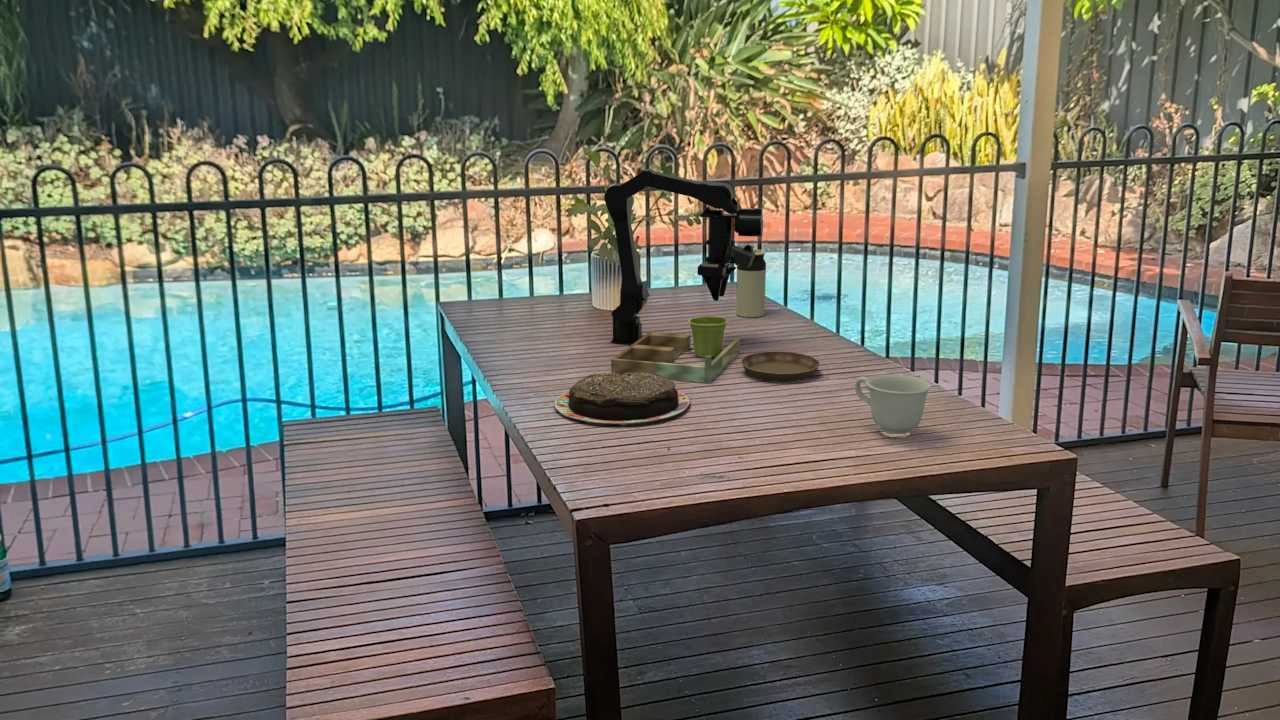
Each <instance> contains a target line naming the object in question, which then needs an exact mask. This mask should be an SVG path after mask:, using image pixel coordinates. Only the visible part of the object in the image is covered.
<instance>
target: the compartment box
mask: <svg viewBox="0 0 1280 720" xmlns="http://www.w3.org/2000/svg"><path fill="white" fill-rule="evenodd" d="M691 341H692V340H691V334H687V333H672V332H660V331H649V332H648V333H646V334H645V335H642V338H641V339H639V340H638V341H636V342H635V343H634V344H630V346H628V347H627V348H625V349H624V350H622V351H621V352H620V353H618V354H617V355H615V356H614V357H612V358H611V360H610V361H611V362H610V364H611V365H610V366H611V367H610V372H611V373H613V372H615V373H616V374H621V373H623V374H624V373H631V372H636V373H641V372H642V373H652V372H654V373H657V374H659V375H660V376H663V377H665V378H666V379H668V380H670V381H678V380H680V381H681V382H689V381H694V382H693V383H700V382H705V383H704V384H711V383H712V381H713V380H714V379H716V377H718V375H719V374H720V373H721V372H722V371H723V370H724V369H725V368H727V366H728V365H729V364H730V363H731V362H732V361H733V360H734V359H735V358H736V357H737V356H738V355H739V354H740V353H741V338H738V337H736V338H735V339H733V341H732V342H730V343H729V344H728V345H727V347H725V348H724V349H722V350H721V353H720V354H719V355H718V356H717V357H715V358H713V357H712V356H708V355H706V356H705V358H704V365H693V364H680V363H675V361H676V360H677V359H678V358H679V357H680V356H681V355H683V354H684V353H685V352H684V351H687V350H688V351H689V350H691V347H692V346H691V343H692V342H691ZM688 351H687V352H688ZM683 352H684V353H683ZM679 355H680V356H679ZM678 356H679V357H678ZM677 357H678V358H677ZM676 358H677V359H676ZM712 358H713V359H712ZM611 373H610V374H611ZM680 381H679V382H680Z"/></svg>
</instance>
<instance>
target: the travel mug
mask: <svg viewBox="0 0 1280 720" xmlns="http://www.w3.org/2000/svg"><path fill="white" fill-rule="evenodd" d="M753 252H754V253H755V258H754V259H753V262H752V264H751V266H749V268H744V267H742V266H741V265H736V267H737V268H736V292H735V293H736V297H735V300H736V303H735V314H736V315H737V316H739V317H741V318H747V319H753V318H755V319H756V318H760V317H763V316H764V315H765V313H766V310H765V309H766V307H765V306H766V277H767V275H766V273H767V271H766V270H767V263H766V260H765V259H764V257H765V254H766V251H765V250H762V249H754V248H753Z"/></svg>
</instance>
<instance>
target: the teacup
mask: <svg viewBox="0 0 1280 720" xmlns="http://www.w3.org/2000/svg"><path fill="white" fill-rule="evenodd" d="M861 383H864V384H865V387H866V390H868V391H869V397H870V398H869V397H868V396H867V395H865V394H864V393H863V391H862V388H861ZM932 388H933V386H932V383H931V382H929V381H928V380H926V379H924V378H921V377H919V376H913V375H907V374H891V373H889V374H879V375H873V376H871V377H869V378H868V377H867V376H860V377H858V378H857V379H856V381H855V383H854V391H855V394H856V395H857V397H858V398H859V399H860V400H862V401H863V402H865V403H866V404H868V406H869V407H870V411H871V417H872V420H873V422H874V423H875V424H876V425H877V426H878V427H879V428H880V430H882V431H883V432H886V433H889V434H906V433H909V432H910V431H911V430H913V429H915V428H917V427H918V426H919V425H920V423H921V421H922V417H923V414H924V409H925V403H926V400H927V395H928V392H929V391H930V390H931V389H932ZM911 432H912V431H911Z"/></svg>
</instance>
